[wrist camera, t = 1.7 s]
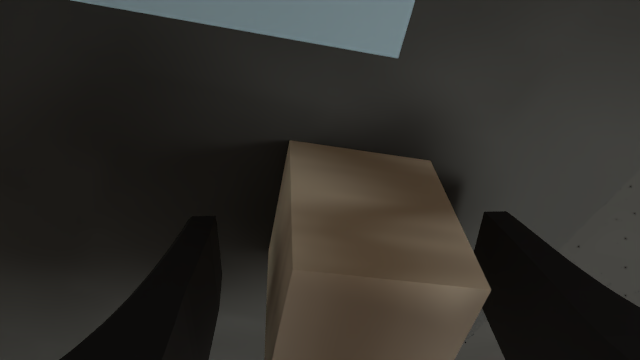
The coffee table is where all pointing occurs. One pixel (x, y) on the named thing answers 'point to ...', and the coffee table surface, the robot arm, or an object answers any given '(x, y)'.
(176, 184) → the coffee table surface
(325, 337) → the beech block
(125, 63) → the coffee table surface
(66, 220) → the coffee table surface
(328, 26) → the book
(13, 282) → the coffee table surface
